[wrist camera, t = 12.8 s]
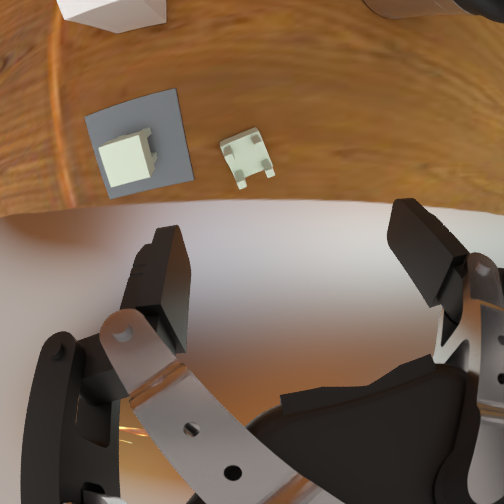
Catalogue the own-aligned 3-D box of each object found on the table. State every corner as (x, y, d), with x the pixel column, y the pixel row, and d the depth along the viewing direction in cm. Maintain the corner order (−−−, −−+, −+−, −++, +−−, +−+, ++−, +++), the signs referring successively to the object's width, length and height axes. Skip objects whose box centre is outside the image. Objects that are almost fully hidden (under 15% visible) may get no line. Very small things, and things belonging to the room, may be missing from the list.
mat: (86, 116, 30) (84, 116, 30) (176, 88, 31) (175, 88, 30) (111, 197, 39) (110, 199, 38) (194, 178, 39) (194, 180, 39)
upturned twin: (219, 141, 37) (220, 155, 31) (255, 126, 36) (263, 137, 30) (234, 173, 40) (238, 192, 34) (269, 159, 39) (278, 176, 34)
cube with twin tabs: (116, 134, 33) (98, 147, 27) (151, 124, 33) (138, 135, 27) (126, 168, 36) (111, 187, 30) (160, 159, 36) (150, 177, 31)
